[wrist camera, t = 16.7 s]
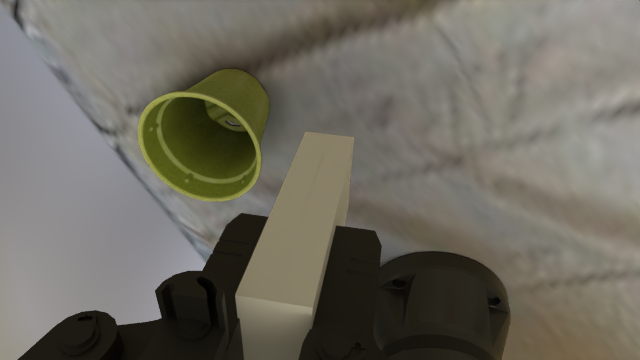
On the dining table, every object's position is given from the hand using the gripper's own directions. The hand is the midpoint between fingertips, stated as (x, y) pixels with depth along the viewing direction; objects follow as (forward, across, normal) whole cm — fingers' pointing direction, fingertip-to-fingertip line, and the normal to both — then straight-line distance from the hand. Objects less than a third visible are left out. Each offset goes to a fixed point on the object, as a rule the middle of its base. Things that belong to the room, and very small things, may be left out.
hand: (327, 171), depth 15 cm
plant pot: (+24, +12, +9) cm, 28 cm away
